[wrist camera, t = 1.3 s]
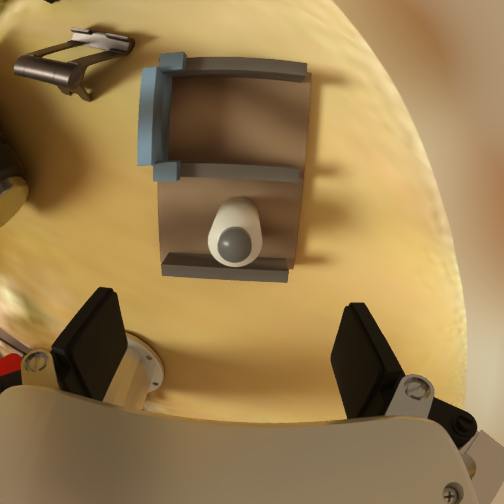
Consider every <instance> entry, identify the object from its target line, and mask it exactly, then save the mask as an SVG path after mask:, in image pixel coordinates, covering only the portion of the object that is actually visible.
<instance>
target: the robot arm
mask: <svg viewBox="0 0 504 504" xmlns="http://www.w3.org/2000/svg"><path fill="white" fill-rule="evenodd" d="M51 347H52V351H51V352H48V351H47V350H44V349H36V350H33V351H31V352H29V353H28V354H26V355H25V356H24V358H23V359H22V361H21V369H20V370H17V371H14V372H11V373H8V374H5V375H2V376H0V504H490V503H491V502H492V500H493V499H494V497H495V495H496V494H497V492H498V490H499V488H500V487H501V485H502V483H503V481H504V447H503V446H501V445H500V444H499V443H498V442H496V441H495V440H494V439H493V438H491V437H490V436H489V435H487V434H486V433H485V432H484V431H483V430H481V431H480V432H478V431H477V423H476V420H475V419H474V417H473V416H472V415H471V414H469V413H468V412H466V411H464V410H461V409H459V408H457V407H455V406H452V405H450V404H448V403H446V402H444V401H441V400H439V399H437V398H435V397H434V388H433V385H432V384H431V382H430V381H429V380H427V379H426V378H424V377H423V376H420V375H415V374H411V375H407V376H406V375H405V373H404V371H403V370H402V368H401V366H400V364H399V362H398V360H397V358H396V357H395V355H394V353H393V351H392V349H391V348H390V346H389V344H388V342H387V340H386V339H385V337H384V335H383V334H382V332H381V330H380V329H379V327H378V325H377V323H376V322H375V320H374V318H373V317H372V315H371V313H370V312H369V310H368V308H367V306H366V305H365V303H350V304H349V306H346V307H345V308H344V312H343V315H342V319H341V323H340V326H339V330H338V333H337V336H336V340H335V343H334V346H333V350H332V353H331V364H332V368H333V371H334V374H335V378H336V381H337V384H338V388H339V391H340V395H341V398H342V402H343V405H344V409H345V412H346V416H347V419H344V420H333V421H318V422H299V423H247V422H227V421H214V420H203V419H194V418H186V417H178V416H171V415H165V414H159V413H153V412H147V411H142V408H143V405H144V402H145V399H146V395H147V393H149V392H152V391H155V390H156V389H158V388H159V387H160V385H161V384H162V381H163V378H164V367H163V364H162V362H161V360H160V358H159V357H158V355H157V354H156V353H155V352H154V351H153V349H152V348H151V347H149V346H148V345H147V344H146V343H145V342H143V341H142V340H140V339H139V338H137V337H135V336H133V335H131V334H129V333H126V332H125V329H124V324H123V320H122V316H121V311H120V306H119V301H118V296H117V293H116V292H114V291H113V289H112V288H105V287H99V288H98V289H97V290H96V291H95V292H94V293H93V295H92V296H91V297H90V298H89V299H88V301H87V302H86V303H85V304H84V305H83V307H82V308H81V309H80V310H79V311H78V313H77V314H76V315H75V316H74V318H73V319H72V320H71V321H70V323H69V324H68V325H67V326H66V328H65V329H64V330H63V332H62V333H61V334H60V335H59V337H58V338H57V339H56V341H55V342H54V343H53V345H52V346H51Z"/></svg>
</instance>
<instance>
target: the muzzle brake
mask: <svg viewBox="0 0 504 504" xmlns="http://www.w3.org/2000/svg"><path fill="white" fill-rule="evenodd" d="M25 181H26V174H25V169H24V168H23V166H22V164H21V163H20V161H19V159H18V158H17V156H16V154H15V153H14V151H13V149H12V148H11V147H10V146H8V145H6V144H5V139H4V137H3V135H2V133H1V131H0V227H2V226H3V225H4V224H6V223H7V222H8V221H9V220H10V219H11V218H12V217H13V216H14V215H15V214H16V213H17V212H18V211H19V209H20V208H21V207H22V205H23V204H24V202H25V201H26V199H27V197H28V194H29V187H28V185H27V184H26V182H25Z"/></svg>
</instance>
